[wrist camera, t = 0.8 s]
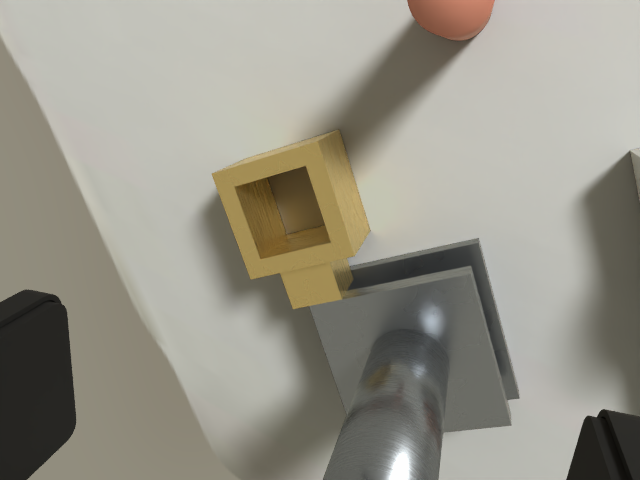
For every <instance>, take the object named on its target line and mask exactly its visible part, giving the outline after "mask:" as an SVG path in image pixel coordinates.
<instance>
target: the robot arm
mask: <svg viewBox="0 0 640 480" xmlns="http://www.w3.org/2000/svg"><path fill="white" fill-rule="evenodd" d="M75 425H76V412H75V400H74V388H73V376H72V365H71V353H70V341H69V330H68V318H67V311H66V308H65V306H64V305H62V304H61V301H60V300H59V298H58V297H57V296H56V295H53V294H48V293H43V292H38V291H33V290H23V291H21V292H19V293H17V294H15V295H13V296H12V297H9V298H7V299H6V300H4V301H2V302H0V480H27V479H28V478H29V477H30V476H31V475H32V474H33V473H34V472H35V471H36V470H37V469H38V468H39V467H40V466H42V465H43V464H44V462H46V461H47V460H48V459H49V458H50V457H51V456H52V455H53V454H54V453H55V452H56V451H57V450H58V449H59V448H60V447H61V446H62V445H63V444H64V443H66V442H67V440H68V439H69V438H70V437H71V435H72V434H73V431H74V429H75ZM566 480H640V417H639V416H634V415H629V414H624V413H619V412H615V411H610V410H605V409H603V410H601V411H600V412H599V414H598V416H597V417H593V416H586V418H585V419H584V422H583V425H582V428H581V432H580V435H579V438H578V442H577V445H576V449H575V452H574V456H573V459H572V462H571V466H570V469H569V473H568V476H567V479H566Z"/></svg>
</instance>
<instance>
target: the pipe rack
mask: <svg viewBox="0 0 640 480" xmlns="http://www.w3.org/2000/svg"><path fill="white" fill-rule="evenodd" d="M630 153H631V158H632V164H633V169H634V174H635V180H636V185H637V190H638V196H639V201H640V148H638V149H634V150H630Z"/></svg>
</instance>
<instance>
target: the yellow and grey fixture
mask: <svg viewBox="0 0 640 480" xmlns="http://www.w3.org/2000/svg"><path fill="white" fill-rule="evenodd" d="M303 166H306V168H307V171H308V174H309V177H310V180H311V183H312V186H313V189H314V192H315V195H316V198H317V201H318V205H319V208H320V211H321V214H322V217H323V220H324V223H325V225H323V226H319V227H315V228H311V229H307V230H303V231H299V232H295V233H291V234H286V231H285V228H284V225H283V222H282V219H281V216H280V213H279V211H278V208H277V205H276V202H275V199H274V196H273V193H272V190H271V187H270V185H269V182H268V179H267V177H269V176H273V175H276V174H280V173H283V172H286V171H290V170H293V169H297V168H300V167H303ZM212 176H213V179H214V182H215V184H216V187H217V190H218V192H219V195H220V198H221V201H222V203H223V206H224V209H225V211H226V214H227V217H228V220H229V222H230V225H231V228H232V230H233V233H234V236H235V238H236V241H237V244H238V247H239V249H240V252H241V255H242V257H243V260H244V263H245V266H246V268H247V271H248V274H249V276H250V279H255V278H260V277H264V276H269V275H273V274H278V273H280V274H281V277H282V280H283V283H284V286H285V288H286V291H287V294H288V297H289V300H290V303H291V305H292V308H293V309H296V308H302V307H307V306H309V308H310V311H311V314H312V316H313V319H314V322H315V325H316V328H317V331H318V334H319V337H320V339H321V342H322V345H323V348H324V351H325V354H326V357H327V360H328V362H329V365H330V368H331V371H332V374H333V377H334V380H335V383H336V385H337V388H338V391H339V394H340V397H341V400H342V403H343V406H344V408H345V411H346V414H347V416H346V418H345V421H344V424H343V427H342V429H341V432H340V435H339V437H338V440H337V443H336V445H335V448H334V451H333V454H332V456H331V459H330V462H329V464H328V467H327V470H326V472H325V475H324V478H323V480H438V478H439V468H440V458H441V448H442V438H443V432H453V431H462V430H472V429H482V428H492V427H501V426H511V425H512V424H511V412H510V408H509V405H508V401H507V400H510V399H519V390H518V386H517V382H516V379H515V375H514V371H513V367H512V363H511V360H510V356H509V352H508V348H507V344H506V341H505V337H504V333H503V329H502V325H501V321H500V318H499V314H498V310H497V306H496V302H495V299H494V295H493V291H492V287H491V283H490V280H489V276H488V272H487V268H486V264H485V260H484V257H483V253H482V249H481V245H480V241H479V238H477V239H473V240H468V241H464V242H459V243H454V244H450V245H445V246H441V247H436V248H432V249H427V250H422V251H418V252H413V253H409V254H404V255H400V256H395V257H391V258H386V259H381V260H377V261H372V262H368V263H363V264H359V265H354V266H349V263H348V260H347V258H349V257H353V256H355V255H356V253H357V251H358V250H359V248H360V247H361V245H362V243H363V242H364V240H365V239H366V237H367V235H368V234H369V232H370V228H369V224H368V221H367V218H366V215H365V211H364V208H363V205H362V202H361V199H360V195H359V192H358V189H357V186H356V182H355V179H354V176H353V173H352V169H351V166H350V163H349V160H348V156H347V153H346V150H345V147H344V144H343V140H342V137H341V134H340V131H339V130H336V131H332V132H329V133H326V134H323V135H320V136H316V137H313V138H310V139H307V140H304V141H300V142H297V143H294V144H291V145H288V146H284V147H281V148H278V149H275V150H272V151H268V152H265V153H262V154H259V155H256V156H252V157H249V158H246V159H243V160H241V161H239V162H237V163H235V164H232V165H230V166H228V167H226V168H223V169H221V170H219V171H217V172H215V173H212Z"/></svg>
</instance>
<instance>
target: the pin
mask: <svg viewBox="0 0 640 480" xmlns="http://www.w3.org/2000/svg"><path fill="white" fill-rule="evenodd" d="M407 1H408V6H409V9H410V11H411V13H412V15H413V17H414V18H415V20H416V21H417V22H418V23H419V25H421V26H422V27H423V28H424V29H426V30H427V31H429V32H431V33H434V34H436V35H439V36H442V37H445V38H447V39H450V40H455V41H462V40H467V39H470V38H472V37H474V36H476V35H477V34H478V33H480V32H481V31H482V30H483V29H484V27H485V26H486V24H487V23H488V21H489V19H490V16H491V12H492V8H493V5H494V1H495V0H407Z"/></svg>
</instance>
